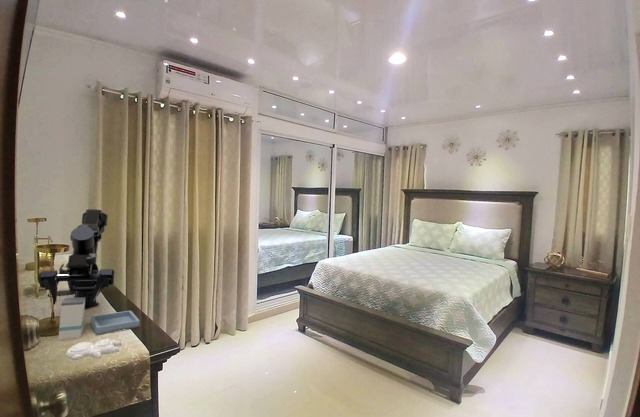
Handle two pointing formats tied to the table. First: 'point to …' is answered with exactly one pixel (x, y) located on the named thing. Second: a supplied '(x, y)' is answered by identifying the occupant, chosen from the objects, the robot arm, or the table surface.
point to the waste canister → (71, 318)
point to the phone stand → (62, 272)
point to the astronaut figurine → (93, 349)
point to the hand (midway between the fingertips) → (73, 302)
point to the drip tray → (114, 322)
